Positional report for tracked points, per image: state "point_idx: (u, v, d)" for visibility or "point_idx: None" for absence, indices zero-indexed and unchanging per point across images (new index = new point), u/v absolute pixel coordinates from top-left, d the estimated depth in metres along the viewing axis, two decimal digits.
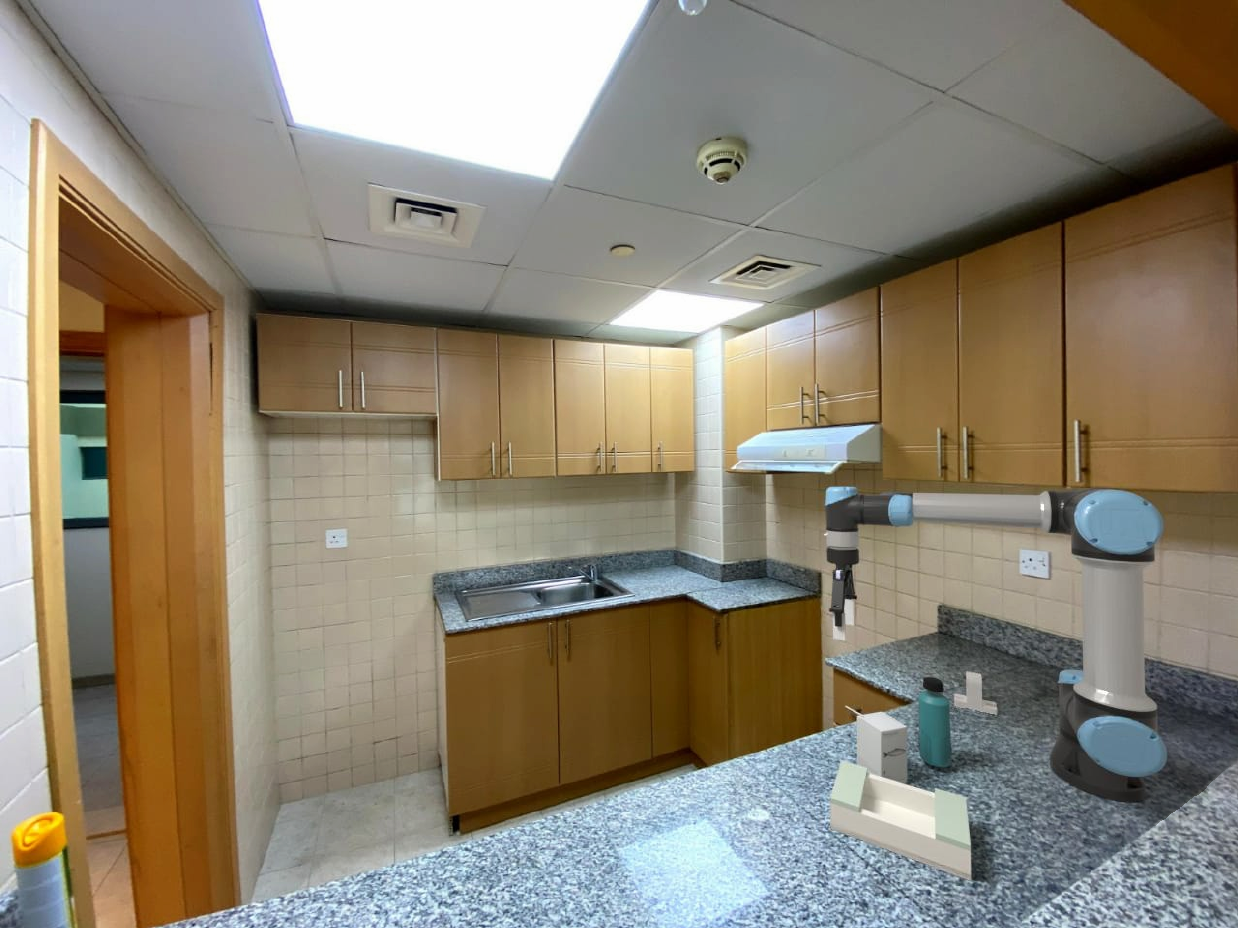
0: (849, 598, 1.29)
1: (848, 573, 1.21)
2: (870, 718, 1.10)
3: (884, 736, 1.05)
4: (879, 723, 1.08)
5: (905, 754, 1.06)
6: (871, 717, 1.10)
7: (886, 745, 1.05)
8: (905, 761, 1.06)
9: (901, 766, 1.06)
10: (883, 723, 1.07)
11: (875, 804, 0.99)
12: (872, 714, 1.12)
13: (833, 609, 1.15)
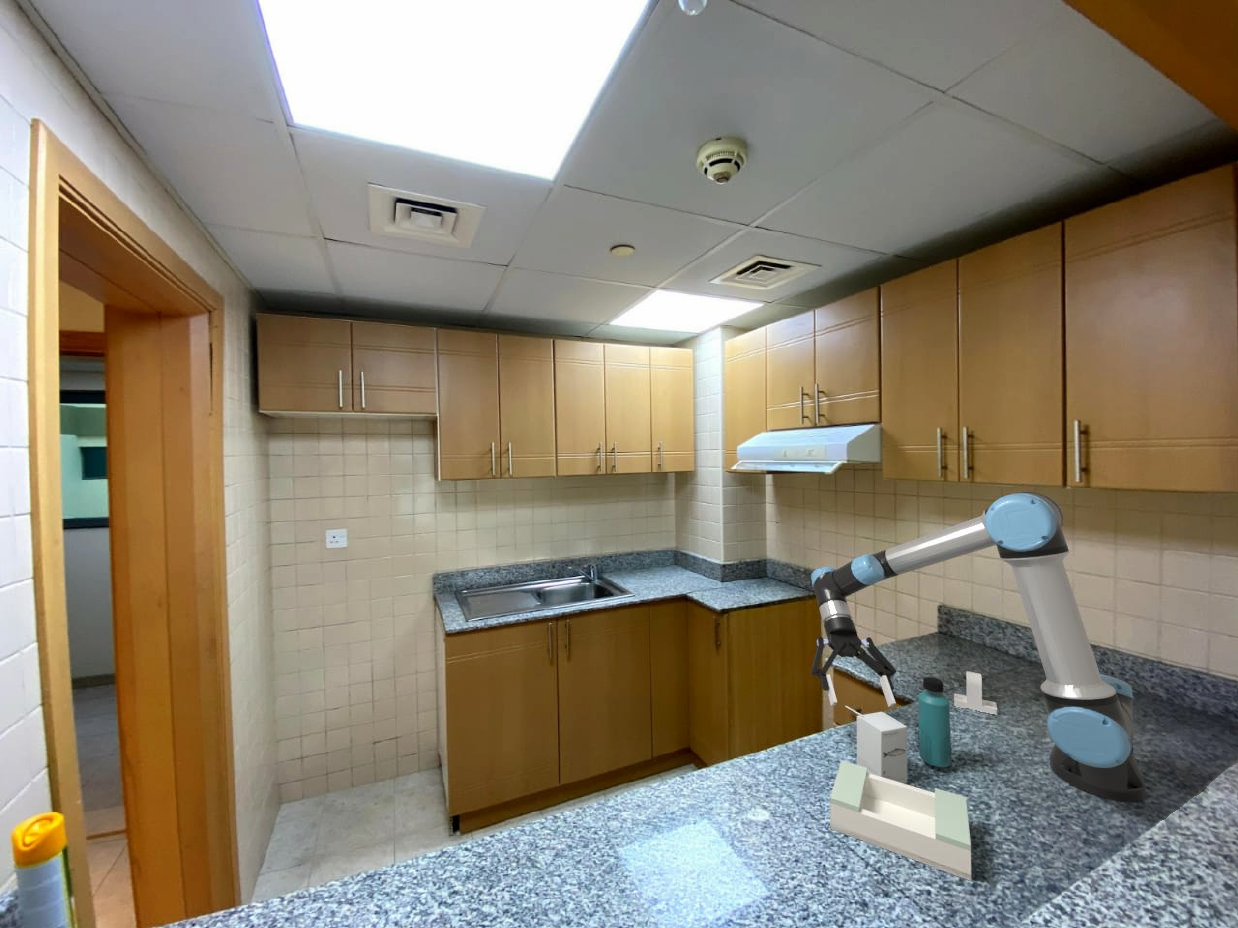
0: None
1: (839, 640, 1.26)
2: (870, 718, 1.10)
3: (884, 736, 1.05)
4: (879, 723, 1.08)
5: (905, 754, 1.06)
6: (871, 717, 1.10)
7: (886, 745, 1.05)
8: (905, 761, 1.06)
9: (901, 766, 1.06)
10: (883, 723, 1.07)
11: (875, 804, 0.99)
12: (872, 714, 1.12)
13: (811, 672, 1.23)
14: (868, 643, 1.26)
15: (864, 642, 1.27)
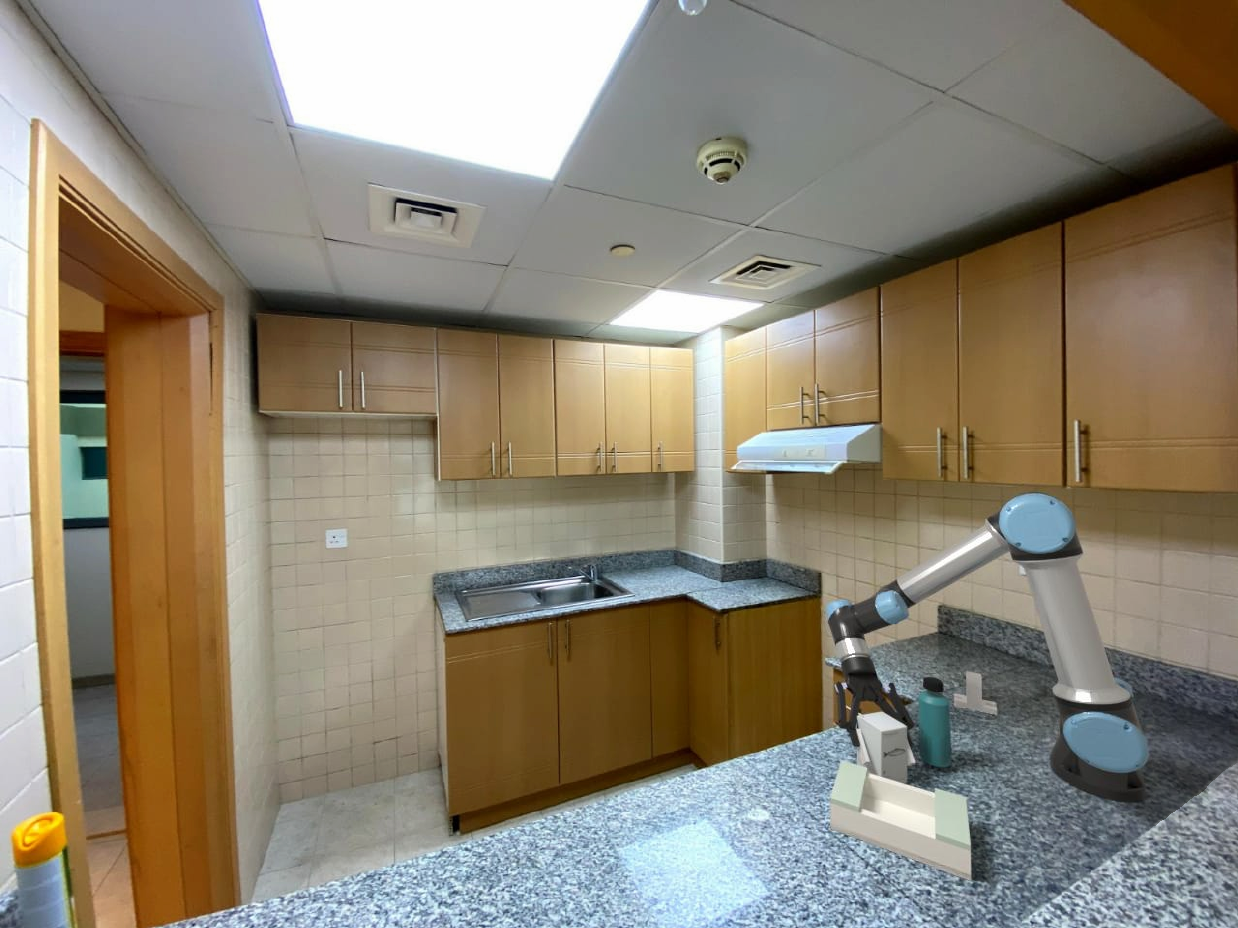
0: None
1: (858, 684, 1.16)
2: (870, 718, 1.10)
3: (884, 736, 1.05)
4: (880, 723, 1.08)
5: (906, 754, 1.06)
6: (871, 717, 1.10)
7: (886, 745, 1.05)
8: (905, 761, 1.06)
9: (901, 766, 1.06)
10: (883, 723, 1.07)
11: (875, 804, 0.99)
12: (872, 713, 1.12)
13: (839, 725, 1.12)
14: (889, 689, 1.16)
15: (885, 687, 1.17)
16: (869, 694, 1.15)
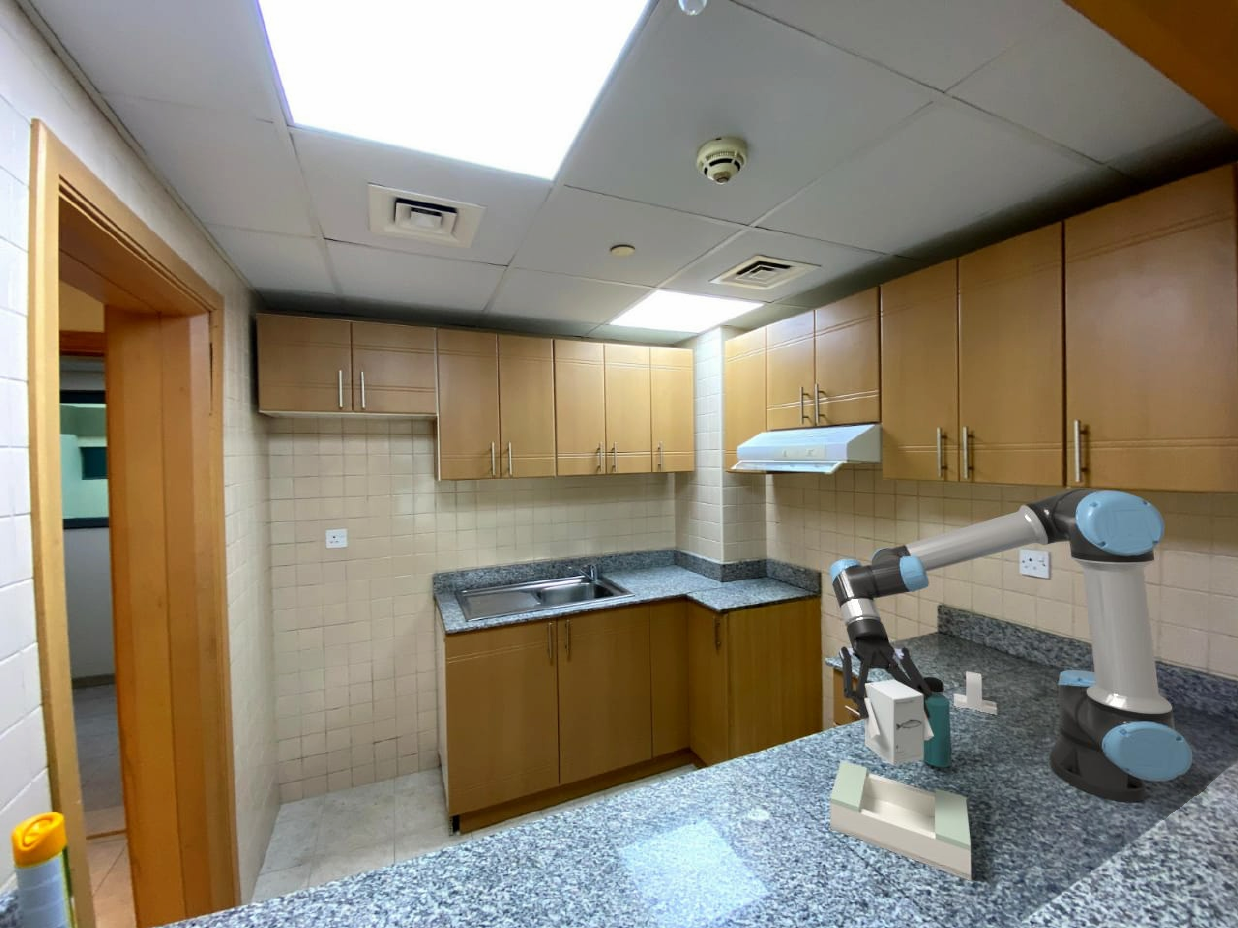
0: None
1: (866, 649, 1.02)
2: (881, 685, 0.95)
3: (897, 704, 0.90)
4: (891, 690, 0.93)
5: (922, 727, 0.92)
6: (882, 685, 0.96)
7: (900, 715, 0.90)
8: (921, 735, 0.92)
9: (917, 740, 0.91)
10: (896, 691, 0.93)
11: (875, 804, 0.99)
12: (882, 681, 0.97)
13: (845, 694, 0.98)
14: (903, 654, 1.01)
15: (898, 652, 1.02)
16: (879, 660, 1.00)
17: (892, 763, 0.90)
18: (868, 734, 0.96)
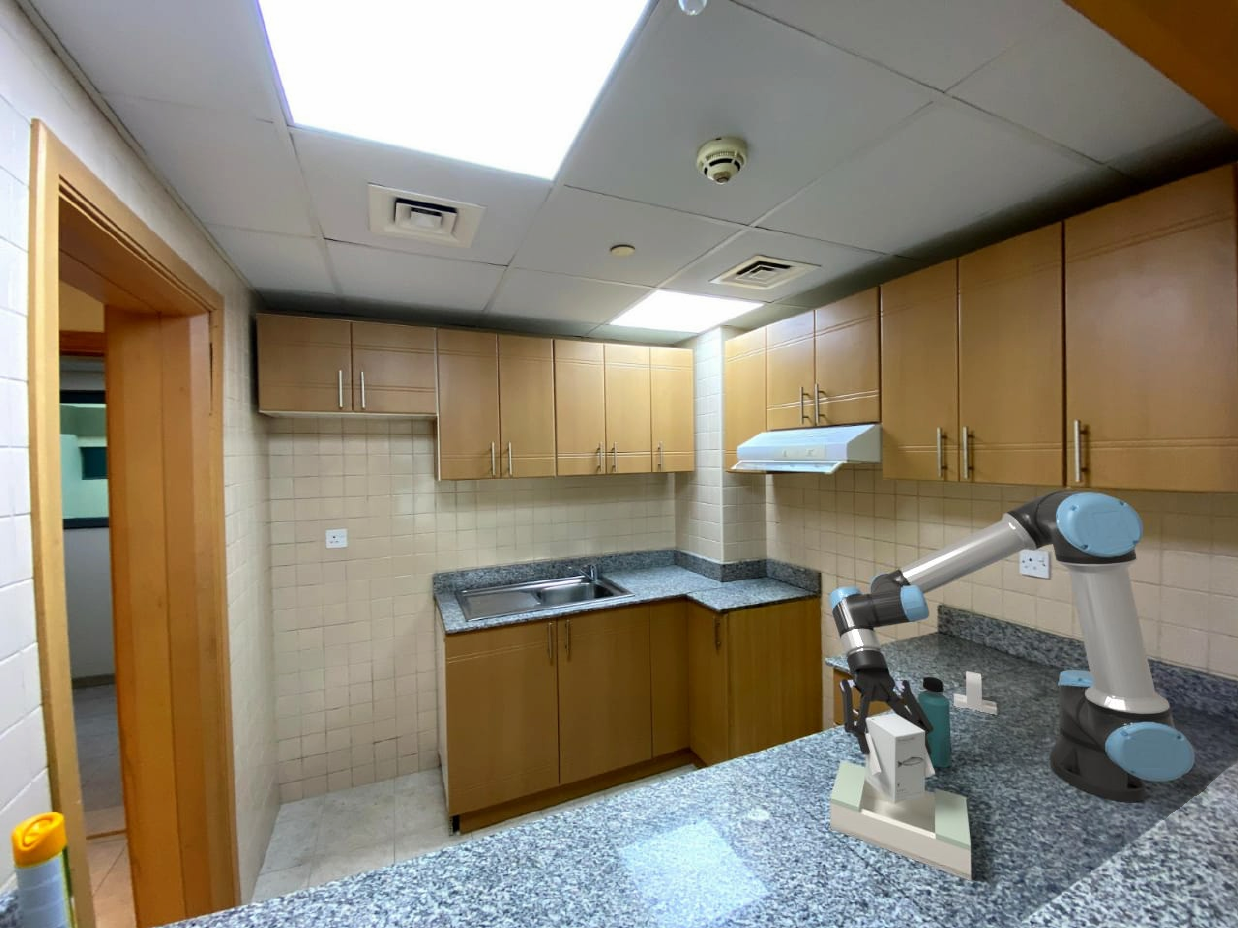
0: None
1: (867, 681, 1.01)
2: (882, 721, 0.94)
3: (899, 742, 0.89)
4: (893, 726, 0.92)
5: (923, 763, 0.91)
6: (883, 720, 0.95)
7: (901, 752, 0.89)
8: (922, 772, 0.91)
9: (918, 777, 0.91)
10: (897, 727, 0.92)
11: (875, 804, 0.99)
12: (883, 716, 0.96)
13: (845, 728, 0.97)
14: (903, 687, 1.00)
15: (898, 685, 1.01)
16: (880, 693, 1.00)
17: (893, 801, 0.89)
18: (869, 769, 0.95)
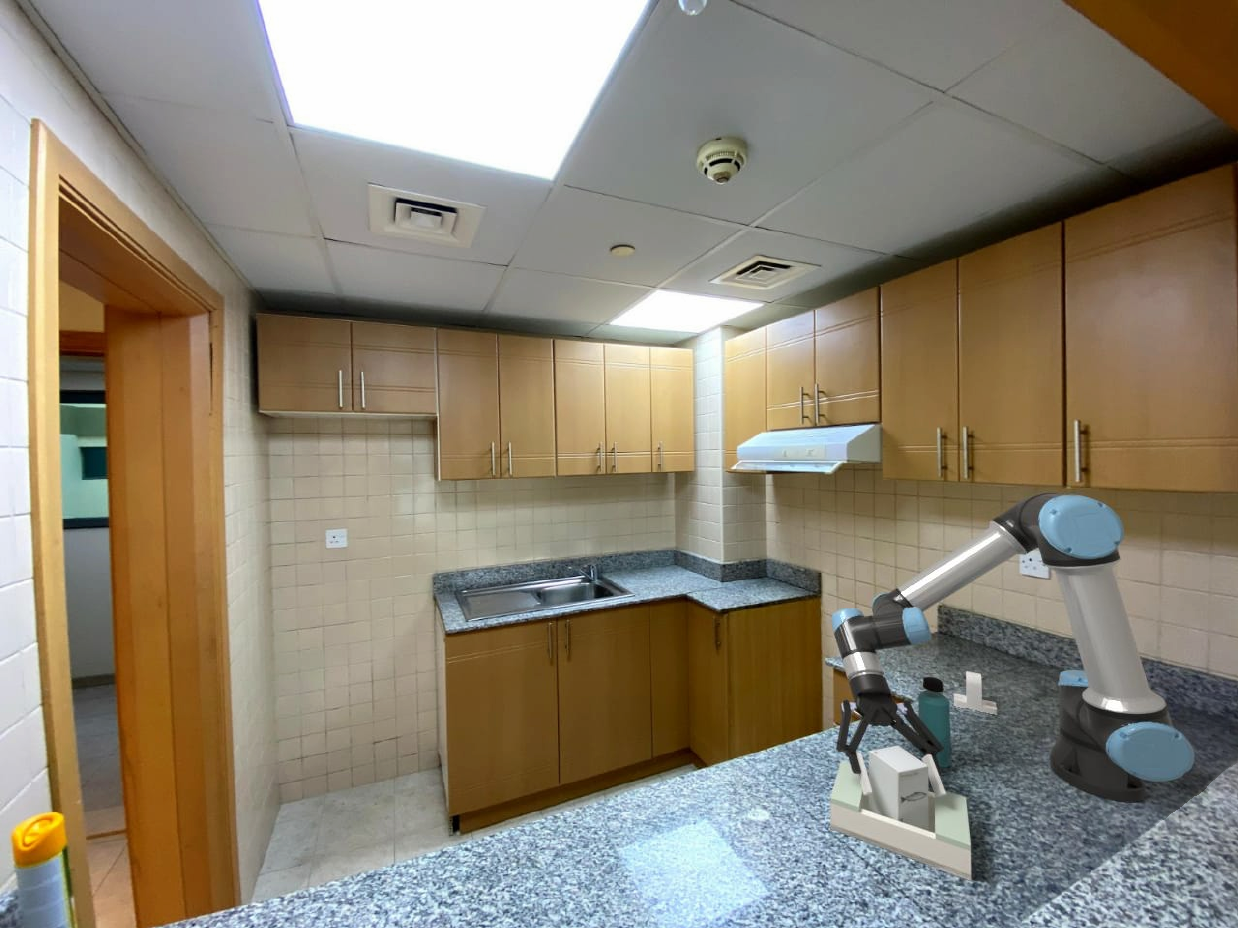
0: (928, 754, 0.95)
1: (869, 705, 1.01)
2: (885, 754, 0.94)
3: (902, 777, 0.89)
4: (896, 761, 0.92)
5: (927, 798, 0.91)
6: (886, 753, 0.95)
7: (904, 788, 0.89)
8: (926, 807, 0.91)
9: (922, 812, 0.90)
10: (900, 762, 0.92)
11: None
12: (886, 748, 0.96)
13: (837, 747, 0.97)
14: (906, 709, 1.00)
15: (901, 707, 1.01)
16: (882, 718, 0.99)
17: None
18: (872, 803, 0.95)
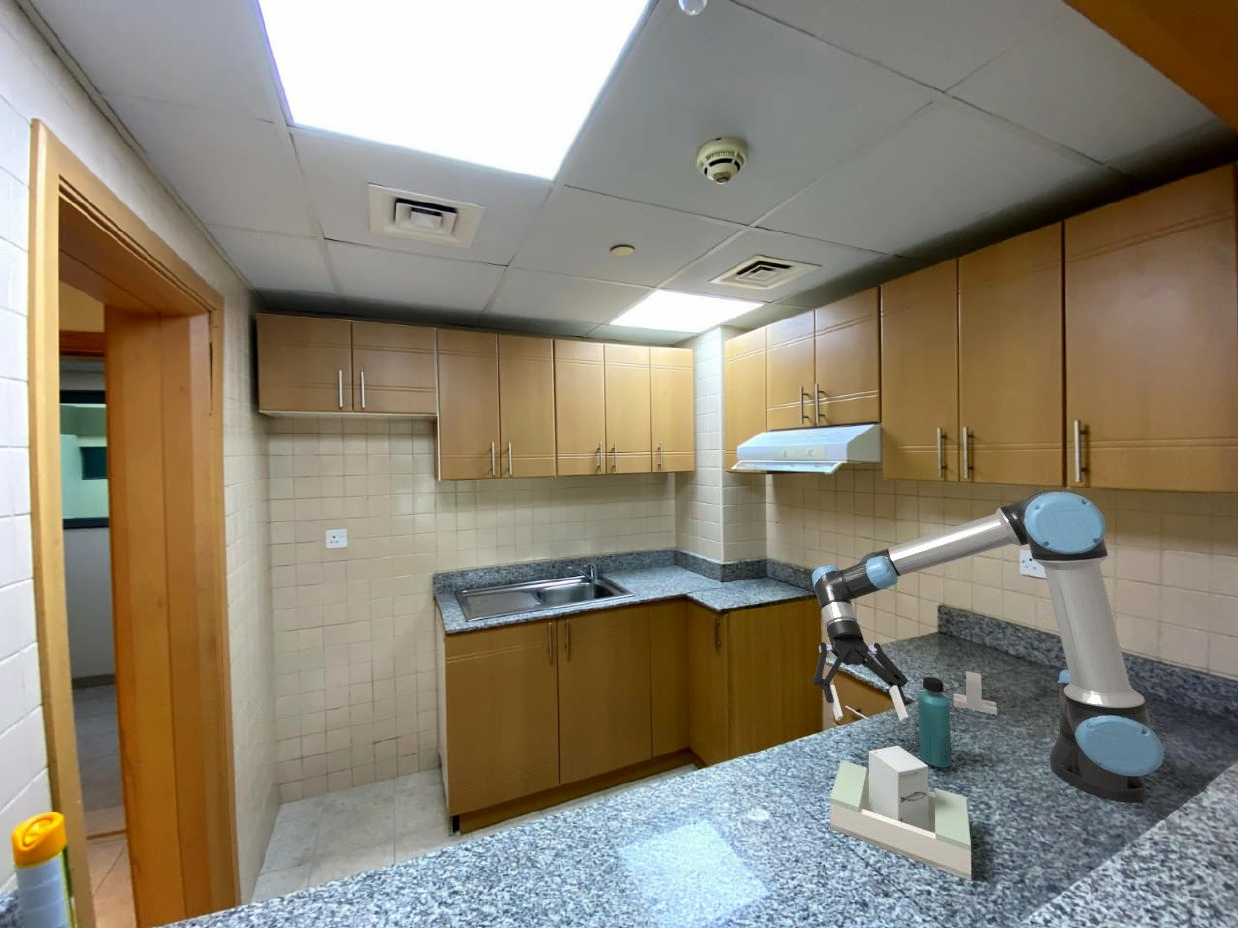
0: (894, 686, 1.08)
1: (844, 647, 1.14)
2: (885, 754, 0.94)
3: (902, 777, 0.89)
4: (896, 761, 0.92)
5: (927, 798, 0.91)
6: (886, 753, 0.95)
7: (904, 788, 0.89)
8: (926, 807, 0.91)
9: (922, 812, 0.90)
10: (900, 762, 0.92)
11: None
12: (886, 748, 0.96)
13: (813, 682, 1.10)
14: (876, 649, 1.13)
15: (871, 648, 1.14)
16: (855, 657, 1.12)
17: None
18: (872, 803, 0.95)
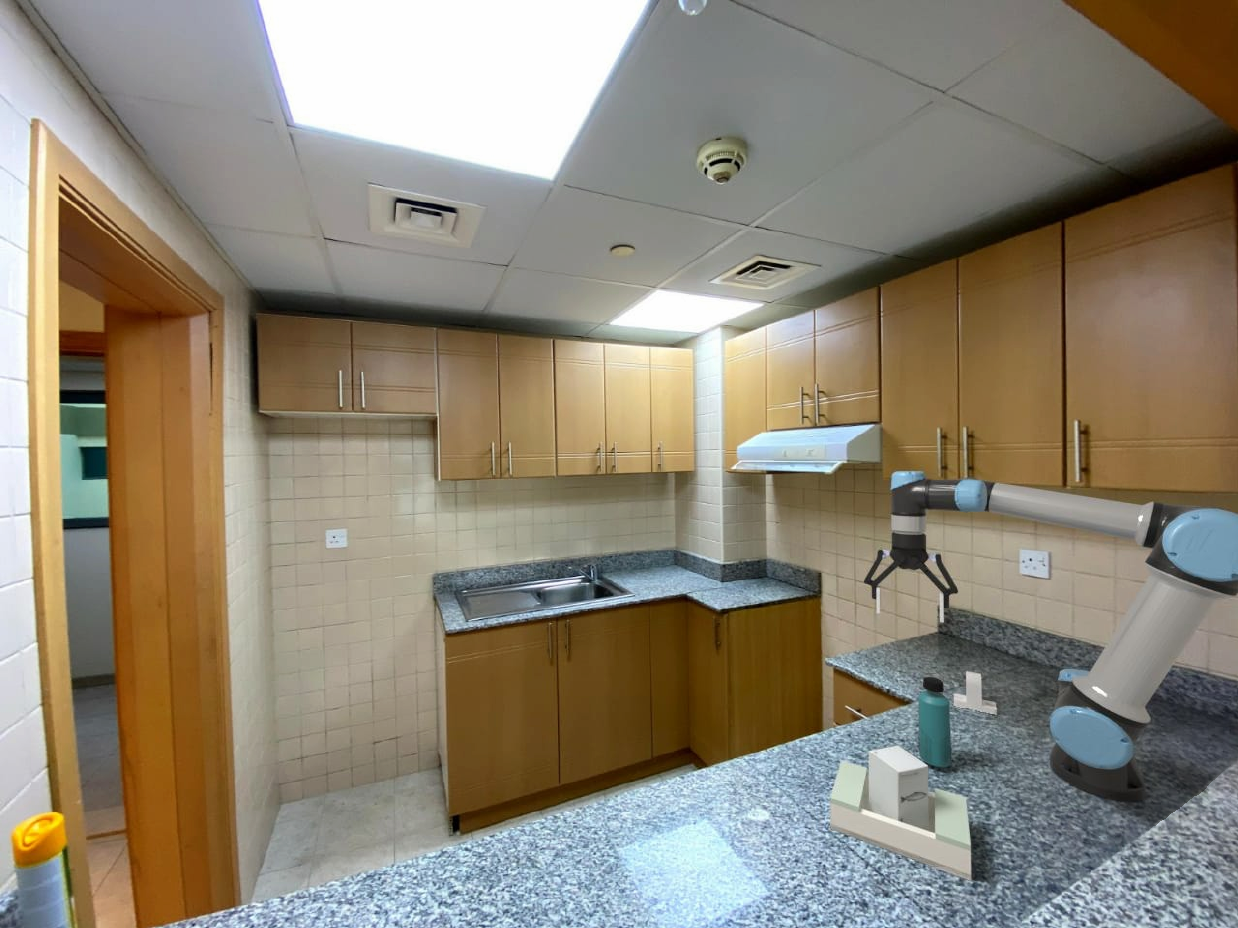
0: (943, 593, 1.18)
1: (900, 556, 1.22)
2: (885, 754, 0.94)
3: (902, 777, 0.89)
4: (896, 761, 0.92)
5: (927, 798, 0.91)
6: (886, 753, 0.95)
7: (904, 788, 0.89)
8: (926, 807, 0.91)
9: (922, 812, 0.90)
10: (900, 762, 0.92)
11: None
12: (886, 748, 0.96)
13: None
14: (935, 560, 1.18)
15: (932, 557, 1.19)
16: (909, 566, 1.21)
17: None
18: (872, 803, 0.95)
